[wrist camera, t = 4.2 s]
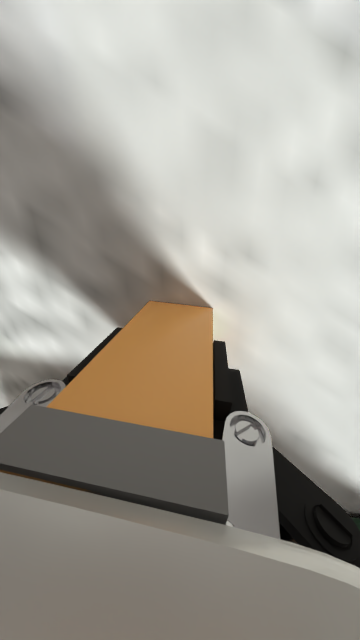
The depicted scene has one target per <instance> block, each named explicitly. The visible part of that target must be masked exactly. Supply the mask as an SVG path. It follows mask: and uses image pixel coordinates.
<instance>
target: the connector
mask: <svg viewBox="0 0 360 640" xmlns="http://www.w3.org/2000/svg"><path fill="white" fill-rule="evenodd" d="M0 472H2V473H6V474H11V475H15V476H20V477H24V478H28V479H33V480H37V481H41V482H46V483H50V484H54V485H59V486H63V487H67V488H71V489H76V490H80V491H84V492H89V493H93V494H97V495H101V496H106V497H110V498H114V499H118V500H123V501H127V502H131V503H135V504H140V505H144V506H148V507H152V508H156V509H161V510H165V511H169V512H173V513H177V514H181V515H186V516H190V517H194V518H198V519H202V520H206V521H211V522H215V523H219V524H223V525H226V522H227V519H228V516H229V511H228V494H227V477H226V460H225V443H224V441H223V440H218V439H213V308H208V307H199V306H191V305H182V304H173V303H165V302H156V301H149V302H148V303H147V304H146V305H145V306H144V307H143V308H142V309H141V310H140V311H139V312H138V313H137V314H136V315H135V316H134V317H133V318H132V319H131V320H130V321H129V323H128V324H127V325H126V326H125V327H124V328H123V329H122V330H121V331H120V332H119V333H118V334H117V335H116V336H115V337H114V338H113V339H112V340H111V341H110V342H109V343H108V344H107V345H106V346H105V347H104V348H103V349H102V350H101V351H100V352H99V353H98V354H97V355H96V356H95V357H94V358H93V359H92V361H91V362H90V363H89V364H88V365H87V366H86V367H85V368H84V369H83V370H82V371H81V372H80V373H79V374H78V375H77V376H76V377H75V378H74V379H73V380H72V381H71V382H70V383H69V384H68V385H67V386H66V387H65V388H64V389H63V390H62V391H61V392H60V393H59V394H58V395H57V396H56V398H55V399H54V400H53V401H52V402H51V403H50V404H49V405H48V406H47V407H42V406H37V405H32V404H31V405H30V406H29V407H28V408H27V409H26V410H25V411H24V412H23V413H22V414H21V415H20V416H18V417H17V418H16V419H15V420H14V421H13V422H12V423H11V424H10V425H9V426H8V427H7V428H6V429H4V430H3V431H2V432H1V433H0Z"/></svg>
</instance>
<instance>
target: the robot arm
mask: <svg viewBox="0 0 360 640" xmlns="http://www.w3.org/2000/svg"><path fill="white" fill-rule="evenodd" d="M122 329H123V328H116V329H115V330H114V331H113V332H112V333H111V334H110V335H109V336H108V337H107V338H106V339H105V340H104V341H103V342H102V343H100V344H99V345H98V346H97V347H96V348H95V349H94V350H93V351H92V352H91V353H90V354H89V355H88V356H87V357H86V358H85V359H84V360H83V361H82V362H81V363H80V364H78V365H77V366H76V367H75V368H74V369H73V370H72V371H71V372H70V373H69V374H68V375H67V377H66V378H65V379H64V380H63V381H61V380H56V379H48V380H44V381H40V382H37V383H35V384H33V385H31V386H29V387H28V388H26V389H25V390H24V391H23V392H22V393H21V394H20V395H19V396H18V397H17V398H16V399H15V400H14V401H13V402H12V403H11V404H10V405H9V406H7V407H4V408H1V409H0V433H1V432H2V431H3V430H4V429H6V428H7V427H8V426H9V425H10V424H11V423H12V422H13V421H14V420H15V419H16V418H17V417H18V416H20V415H21V414H22V413H23V412H24V411H25V410H26V409H27V408H28V407H29V406H30V405H31V404H32V405H37V406H42V407H47V406H48V405H49V404H50V403H51V402H52V401H53V400H54V399H55V398H56V396H57V395H58V394H59V393H60V392H61V391H62V390H63V389H64V388H65V387H66V386H67V385H68V384H69V383H70V382H71V381H72V380H73V379H74V378H75V377H76V376H77V375H78V374H79V373H80V372H81V371H82V370H83V369H84V368H85V367H86V366H87V365H88V364H89V363H90V362H91V361H92V359H93V358H94V357H95V356H96V355H97V354H98V353H99V352H100V351H101V350H102V349H103V348H104V347H105V346H106V345H107V344H108V343H109V342H110V341H111V340H112V339H113V338H114V337H115V336H116V335H117V334H118V333H119V332H120V331H121V330H122ZM213 439H218V440H223V441H224V443H225V460H226V477H227V494H228V511H229V516H228V519H227V522H226V525H223V524H219V523H215V522H211V521H206V520H202V519H198V518H194V517H190V516H186V515H181V514H177V513H173V512H169V511H165V510H161V509H156V508H152V507H148V506H144V505H140V504H135V503H131V502H127V501H123V500H118V499H114V498H110V497H106V496H101V495H97V494H93V493H89V492H84V491H80V490H76V489H71V488H67V487H63V486H59V485H54V484H50V483H46V482H41V481H37V480H33V479H28V478H24V477H20V476H15V475H11V474H6V473H2V472H0V640H360V530H359V528H358V527H357V525H356V524H355V523H354V521H353V520H352V518H351V517H350V516H349V515H348V514H347V513H346V512H345V511H344V510H343V509H342V508H341V507H340V506H339V505H338V504H337V503H336V502H335V501H334V500H333V499H331V498H330V497H329V496H328V495H327V494H326V493H325V492H323V491H322V490H321V489H320V488H319V487H318V486H317V485H316V484H314V483H313V482H312V481H311V480H310V479H309V478H308V477H306V476H305V475H304V474H303V473H302V472H301V471H300V470H299V469H297V468H296V467H295V466H294V465H293V464H292V463H291V462H289V461H288V460H287V459H286V458H285V457H284V456H283V455H282V454H280V453H279V452H278V451H277V450H276V449H275V448H274V447H272V438H271V434H270V430H269V429H268V427H267V425H266V424H265V423H264V422H263V421H262V420H261V419H260V418H258V417H257V416H255V415H253V414H251V413H249V412H248V409H247V405H246V400H245V395H244V390H243V385H242V380H241V375H240V371H239V370H235V369H229V368H228V363H227V354H226V346H225V342H222V341H215V340H214V342H213Z"/></svg>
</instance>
